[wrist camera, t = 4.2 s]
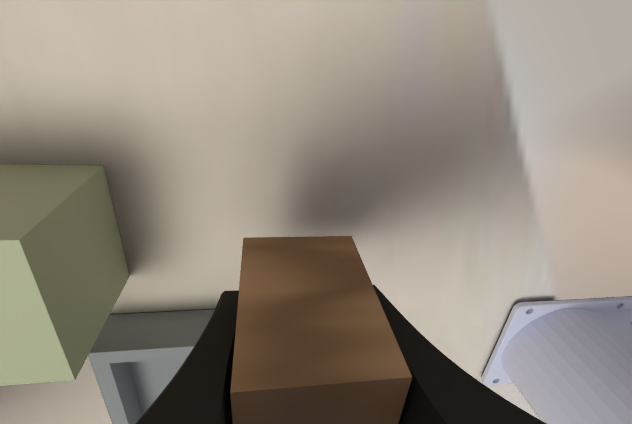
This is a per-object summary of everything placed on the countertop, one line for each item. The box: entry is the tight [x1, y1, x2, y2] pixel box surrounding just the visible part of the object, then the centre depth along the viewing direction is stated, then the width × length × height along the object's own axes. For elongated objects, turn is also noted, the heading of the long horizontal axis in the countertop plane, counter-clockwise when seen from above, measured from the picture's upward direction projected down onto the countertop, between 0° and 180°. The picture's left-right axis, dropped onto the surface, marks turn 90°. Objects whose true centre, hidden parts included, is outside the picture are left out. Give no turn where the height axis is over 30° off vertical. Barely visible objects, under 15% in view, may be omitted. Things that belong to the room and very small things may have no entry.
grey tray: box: [88, 309, 215, 424], centre depth 21 cm, size 13×13×2 cm
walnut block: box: [230, 236, 412, 424], centre depth 11 cm, size 4×4×6 cm
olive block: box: [0, 164, 129, 386], centre depth 13 cm, size 6×6×6 cm
